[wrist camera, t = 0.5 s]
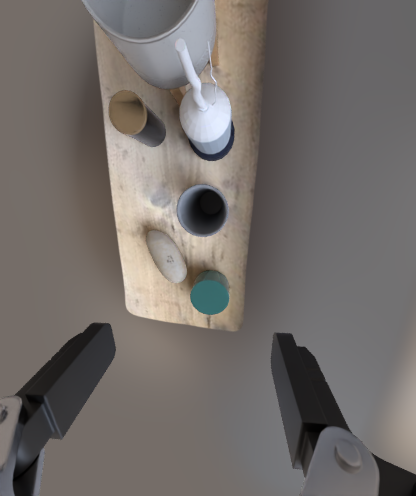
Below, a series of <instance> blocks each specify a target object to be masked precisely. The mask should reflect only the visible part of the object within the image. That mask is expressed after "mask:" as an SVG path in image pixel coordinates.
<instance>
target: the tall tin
mask: <svg viewBox="0 0 416 496" xmlns="http://www.w3.org/2000/svg"><path fill="white" fill-rule="evenodd" d="M109 117H110V120H111V122H112V124H113V126H114V127H115V128H116V129H117V130H118V131H119V132H121V133H123V134H125V135H128V136H130V137H132V138H134V139H136V140H138V141H140V142H142V143H144V144H145V145H147V146H150V147H156V146H159V145H160V144H161V143H162V142H163V141H164V139H165V135H166V129H165V126H164V124H163V122H162V121H161V120H160V119H159V118H158V117H157V116H156V114H155V113H154V112H153V111H152V110H151V109H150V108H149V107H148V106H147V105H146V104H145V103H144V102H143V101H142V99H141V98H140V97H139V96H138V95H137V94H135V93H134V92H132V91H128V90H123V91H120V92H118V93H116V94H115V95H114V96H113V97H112V99H111V101H110V104H109Z"/></svg>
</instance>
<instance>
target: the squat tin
mask: <svg viewBox="0 0 416 496" xmlns="http://www.w3.org/2000/svg"><path fill="white" fill-rule="evenodd" d="M190 299H191V302H192V304H193V306H194V307H195V308H196V309H197V310H198V311H199V312H201V313H204V314H208V315H213V314H218V313H220V312H222V311H223V310H224V309H225V308H226V307H227V305H228V303H229V283H228V280H227V279H226V277H225V276H224V275H223V274H221V273H220V272H217V271H213V270H208V271H204V272H202V273H200V274H199V275H198V276H197V277H196V279H195V282H194V285H193V287H192V290H191V294H190Z"/></svg>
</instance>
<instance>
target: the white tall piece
mask: <svg viewBox="0 0 416 496" xmlns="http://www.w3.org/2000/svg"><path fill="white" fill-rule="evenodd" d="M207 43H208V51H209V59H210V66H211V71H210V75H211V78H212V79H213V80H214V81H215V82H216V80H215V79H214V78H213V77H212V74H211V72H212V64H211V56H210V48H209V41H208V42H207ZM175 47H176V50H177V53H178V56H179V59H180V61H181V64H182V66H183V69H184V72H185V75H186V77H187V79H188V81H189V82H190V84H191V85H192V88H191V89H190V90H189V91H188V92H186V94H185V96H184V98H183V99H182V101H181V106H180V110H179V111H180V121H181V125H182V128H183V130H184V132H185V133H186V135H187V136H188V139H189V142H190V145H191V147H192V149H193V150H194V152H195V153H196V154H197V155H198V156H199V157H201V158H202V159H205V160H208V161H216V160H219V159H222V158H223V157H224V156H225V155H227V154H228V152H229V151H230V149H231V148H232V145H233V142H234V131H235V129H234V126H233V122H232V120H231V111H232V110H231V106H230V102H229V99H228V97H227V95H226V94H225V92H224V91H223V90H222V89H221V88H219V87H218V86H217V82H216V84H215V85H214V84H211V83H201V81H200V79H199V77H198V76H197V74H196V72H195V70H194V68H193V64H192V61H191V59H190V56H189V53H188V50H187V47H186V43H185V41H184V40H183V39H181V38H180V39H178V40H177V41H176V43H175Z"/></svg>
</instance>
